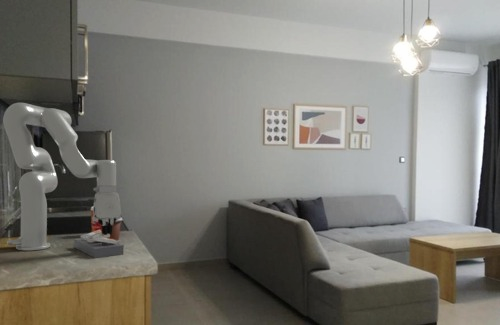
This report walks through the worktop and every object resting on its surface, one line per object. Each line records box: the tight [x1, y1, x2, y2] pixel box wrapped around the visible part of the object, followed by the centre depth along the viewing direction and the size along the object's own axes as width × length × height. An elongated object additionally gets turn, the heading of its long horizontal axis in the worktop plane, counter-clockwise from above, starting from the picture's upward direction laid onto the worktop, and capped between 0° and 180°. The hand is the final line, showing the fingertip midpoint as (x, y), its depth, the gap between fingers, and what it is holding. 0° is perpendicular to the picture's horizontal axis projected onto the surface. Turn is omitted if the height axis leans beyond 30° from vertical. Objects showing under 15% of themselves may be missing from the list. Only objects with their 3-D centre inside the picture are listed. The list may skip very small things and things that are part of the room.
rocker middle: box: [86, 233, 110, 243], centre depth 168 cm, size 8×4×1 cm, turn 130°
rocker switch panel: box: [73, 238, 125, 259], centre depth 168 cm, size 11×24×4 cm, turn 40°
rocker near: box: [93, 236, 118, 244], centre depth 162 cm, size 8×4×1 cm, turn 130°
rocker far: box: [80, 230, 102, 240], centre depth 173 cm, size 8×4×1 cm, turn 131°
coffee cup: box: [105, 217, 123, 243], centre depth 188 cm, size 9×9×12 cm
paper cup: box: [90, 206, 101, 232], centre depth 203 cm, size 8×8×14 cm
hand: (106, 234), depth 170 cm, fingers closed
